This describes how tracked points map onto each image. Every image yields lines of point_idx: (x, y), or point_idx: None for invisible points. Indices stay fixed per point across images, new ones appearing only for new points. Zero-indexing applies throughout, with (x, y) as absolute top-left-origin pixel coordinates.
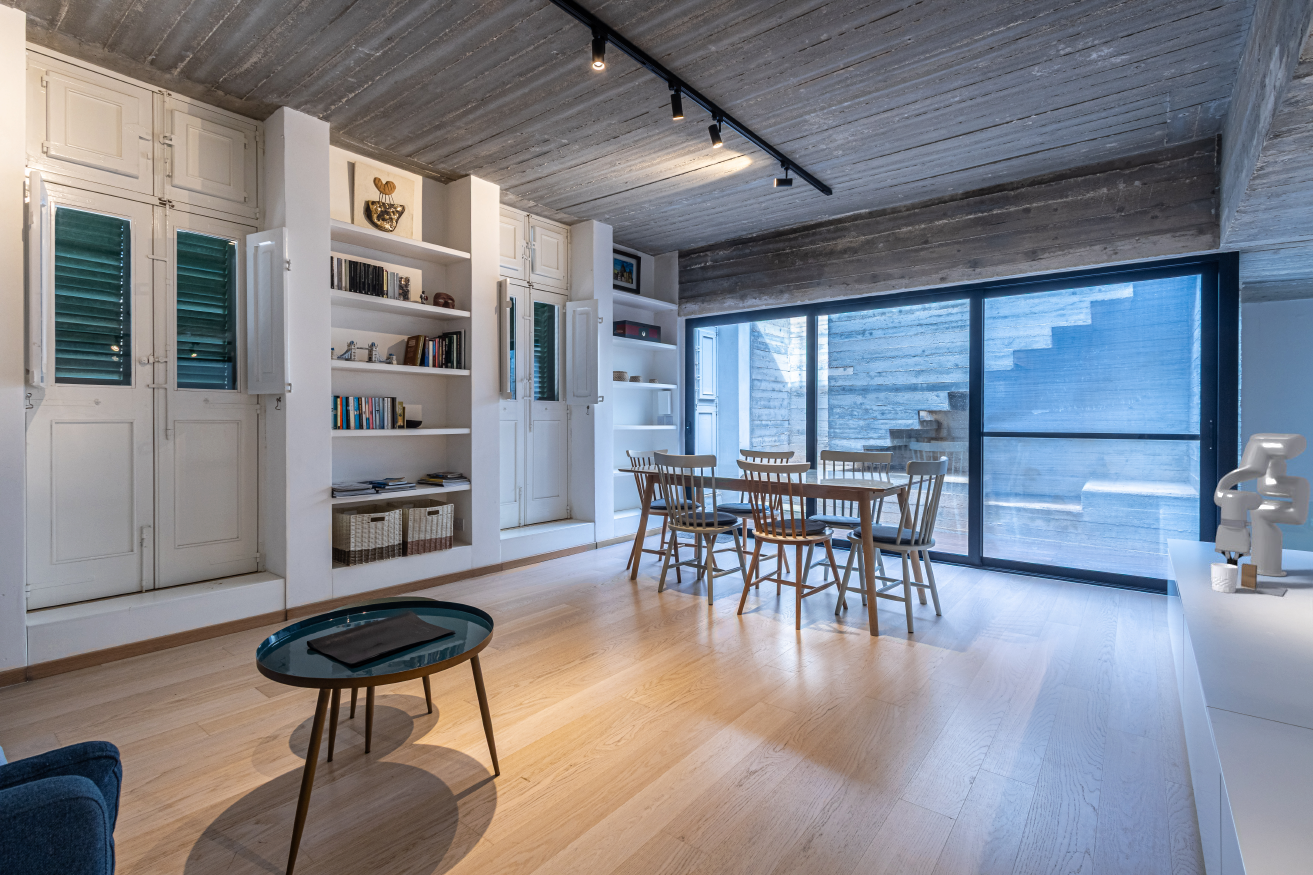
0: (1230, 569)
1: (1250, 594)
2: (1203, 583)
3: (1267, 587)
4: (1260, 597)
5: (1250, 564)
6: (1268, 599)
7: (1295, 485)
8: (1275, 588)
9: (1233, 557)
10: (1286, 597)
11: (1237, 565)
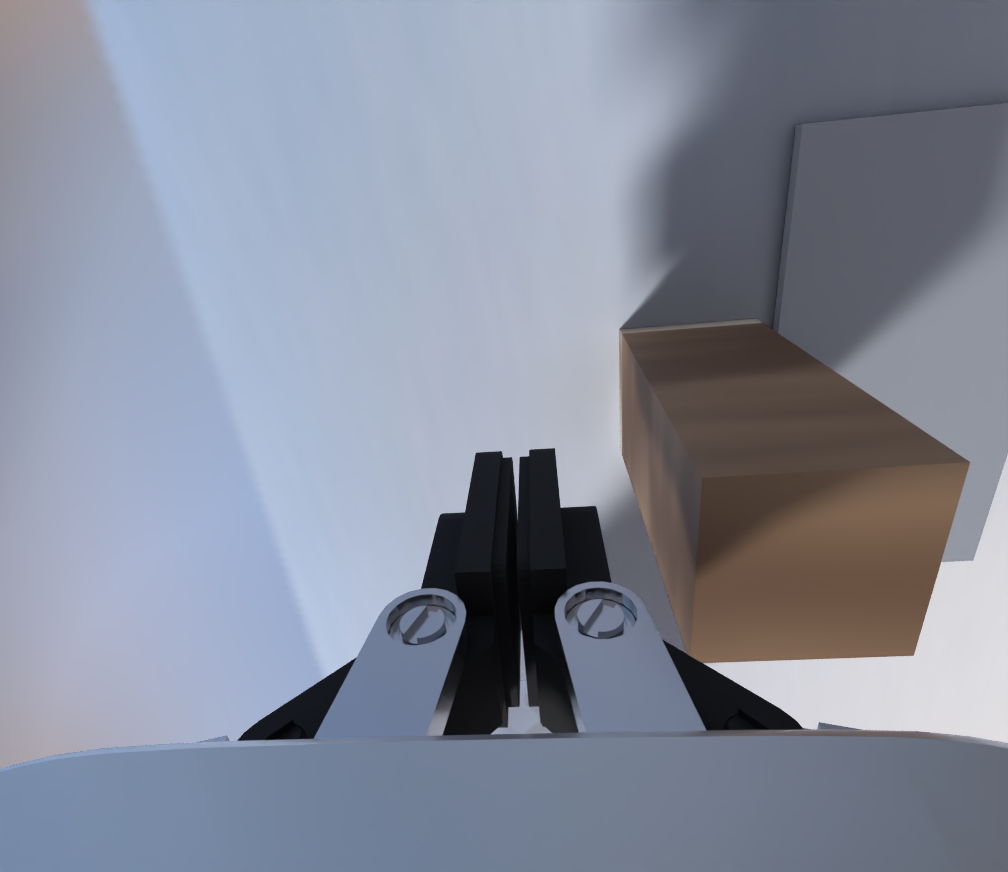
0: None
1: (721, 663)
2: (333, 561)
3: (876, 261)
4: (792, 701)
5: (835, 499)
6: (845, 717)
7: None
8: (965, 236)
9: (537, 673)
10: (999, 553)
11: (597, 518)
